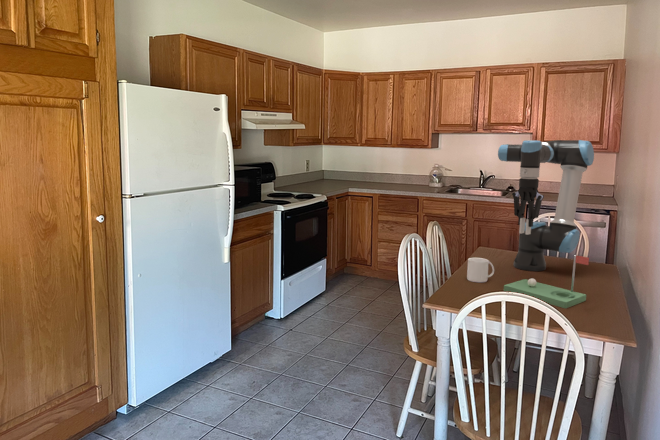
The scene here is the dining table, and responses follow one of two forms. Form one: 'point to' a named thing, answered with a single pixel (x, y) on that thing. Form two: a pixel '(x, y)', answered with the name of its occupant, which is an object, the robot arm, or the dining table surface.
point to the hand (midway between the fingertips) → (524, 233)
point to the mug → (478, 269)
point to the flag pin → (576, 260)
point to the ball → (532, 282)
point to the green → (547, 293)
